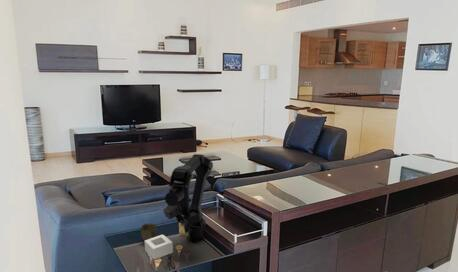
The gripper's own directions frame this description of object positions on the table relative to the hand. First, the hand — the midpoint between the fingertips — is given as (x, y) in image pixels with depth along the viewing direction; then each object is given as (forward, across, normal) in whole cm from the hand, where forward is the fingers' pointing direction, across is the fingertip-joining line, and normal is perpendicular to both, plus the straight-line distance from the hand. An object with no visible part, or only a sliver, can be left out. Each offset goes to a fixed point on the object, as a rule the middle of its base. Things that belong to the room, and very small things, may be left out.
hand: (183, 230), depth 145 cm
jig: (+10, -7, -9) cm, 15 cm away
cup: (+10, -17, -9) cm, 22 cm away
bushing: (+2, 0, 0) cm, 2 cm away
